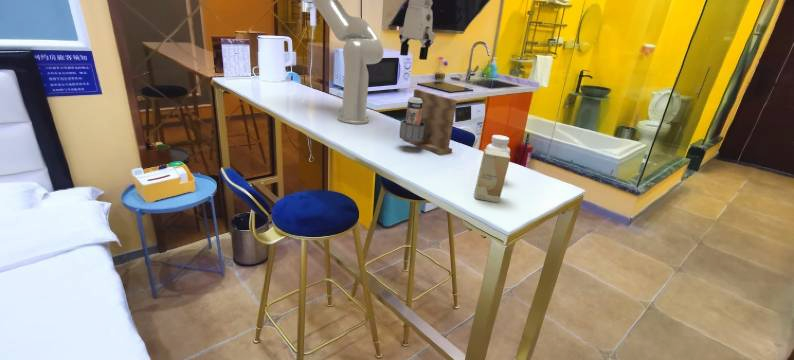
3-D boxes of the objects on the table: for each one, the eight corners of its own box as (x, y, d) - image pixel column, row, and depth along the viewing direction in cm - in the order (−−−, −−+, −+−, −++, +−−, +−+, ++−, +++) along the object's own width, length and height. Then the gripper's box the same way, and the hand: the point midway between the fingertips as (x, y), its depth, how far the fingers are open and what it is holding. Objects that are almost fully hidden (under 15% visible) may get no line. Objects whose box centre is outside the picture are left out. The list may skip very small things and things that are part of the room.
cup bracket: (383, 142, 132) (389, 90, 126) (414, 138, 142) (421, 89, 135) (420, 159, 120) (428, 102, 114) (451, 153, 130) (460, 100, 123)
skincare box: (474, 199, 96) (483, 153, 92) (473, 192, 100) (483, 147, 96) (500, 203, 96) (511, 157, 91) (498, 196, 100) (509, 151, 95)
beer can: (402, 135, 126) (407, 98, 121) (405, 131, 130) (409, 96, 125) (417, 137, 125) (421, 100, 120) (419, 134, 129) (424, 98, 124)
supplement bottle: (481, 173, 114) (490, 132, 110) (504, 179, 112) (514, 136, 108) (477, 180, 109) (487, 137, 104) (501, 186, 107) (511, 142, 102)
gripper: (446, 6, 124) (438, 61, 131) (410, 4, 136) (404, 54, 142) (430, 4, 119) (422, 60, 126) (394, 1, 131) (389, 53, 137)
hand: (413, 57), depth 134 cm, fingers open, 9 cm apart
